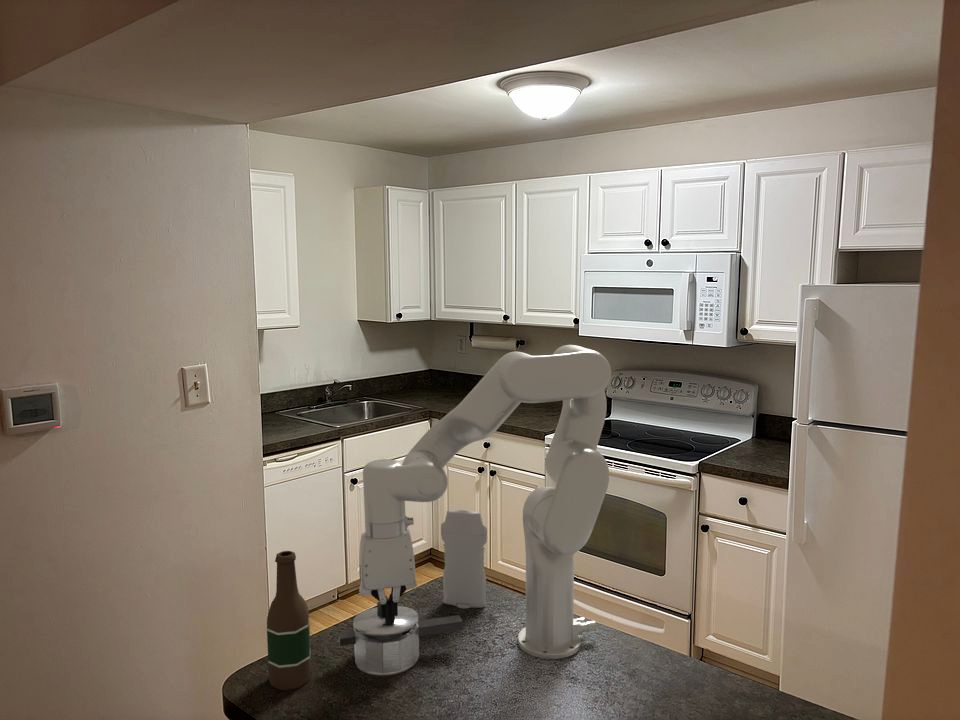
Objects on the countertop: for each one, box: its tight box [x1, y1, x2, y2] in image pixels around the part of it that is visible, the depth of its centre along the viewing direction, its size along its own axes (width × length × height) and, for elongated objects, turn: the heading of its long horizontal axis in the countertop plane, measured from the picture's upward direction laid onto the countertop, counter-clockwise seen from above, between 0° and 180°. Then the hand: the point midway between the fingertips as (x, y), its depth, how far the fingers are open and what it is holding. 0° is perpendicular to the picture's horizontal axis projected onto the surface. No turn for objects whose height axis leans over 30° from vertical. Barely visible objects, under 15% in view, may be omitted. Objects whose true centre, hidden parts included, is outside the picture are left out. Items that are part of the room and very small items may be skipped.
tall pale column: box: [440, 509, 488, 609], centre depth 154 cm, size 11×4×22 cm, turn 77°
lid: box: [352, 601, 419, 636], centre depth 133 cm, size 12×12×3 cm
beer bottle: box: [266, 550, 312, 691], centre depth 125 cm, size 8×8×24 cm
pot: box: [338, 614, 464, 677], centre depth 134 cm, size 24×13×6 cm, turn 106°
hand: (389, 620), depth 131 cm, fingers closed
